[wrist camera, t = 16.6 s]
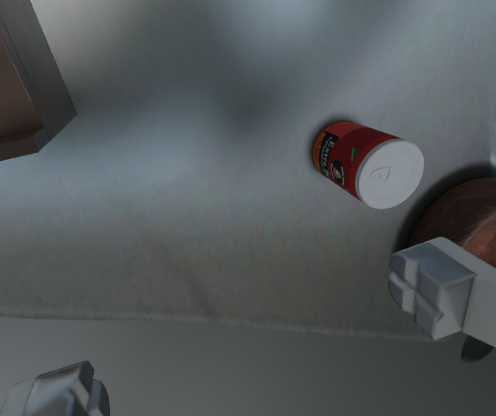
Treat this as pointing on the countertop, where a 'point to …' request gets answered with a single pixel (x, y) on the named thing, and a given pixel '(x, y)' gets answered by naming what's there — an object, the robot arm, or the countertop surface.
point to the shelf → (28, 84)
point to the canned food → (369, 163)
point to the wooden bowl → (463, 219)
